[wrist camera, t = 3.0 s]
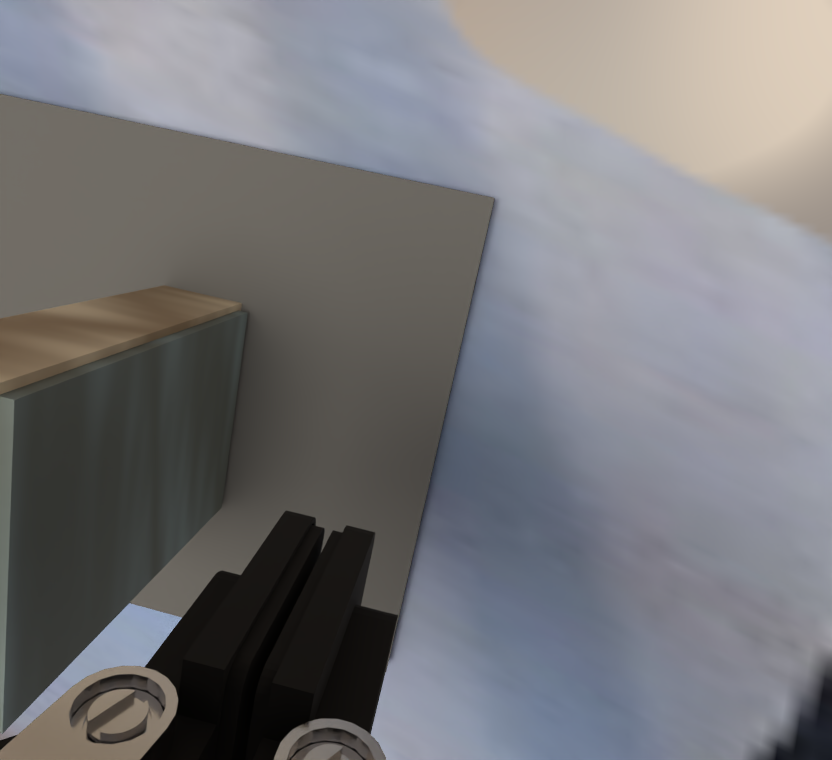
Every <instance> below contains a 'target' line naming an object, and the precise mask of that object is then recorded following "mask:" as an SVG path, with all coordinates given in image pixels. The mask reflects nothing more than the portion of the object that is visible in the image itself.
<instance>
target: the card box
mask: <svg viewBox="0 0 832 760" xmlns="http://www.w3.org/2000/svg"><path fill="white" fill-rule="evenodd" d="M241 306H242V303H239V302H235V301H230V300H226V299H222V298H217V297H213V296H209V295H204V294H200V293H196V292H191V291H187V290H183V289H178V288H174V287H169V286H165V285H163V286H159V287H154V288H149V289H144V290H139V291H134V292H129V293H124V294H119V295H114V296H109V297H104V298H99V299H94V300H89V301H84V302H79V303H74V304H69V305H64V306H59V307H54V308H49V309H44V310H39V311H34V312H29V313H25V314H20V315H15V316H10V317H5V318H0V733H2V734H3V733H4V732H5V731H6V730H7V728H8V727H9V726H10V725H11V724H12V723H13V722H14V721H15V720H16V719H17V718H18V717H19V716H20V715H21V714H22V713H23V712H24V711H25V710H26V709H27V708H28V707H29V706H30V705H31V704H32V703H33V702H34V701H35V700H36V699H37V698H38V697H39V696H40V694H41V693H42V692H43V691H44V690H45V689H46V688H47V687H48V686H49V685H50V684H51V683H52V682H53V681H54V680H55V679H56V678H57V677H58V676H59V675H60V674H61V673H62V672H63V671H64V670H65V669H66V668H67V667H68V666H69V665H70V664H71V663H72V661H73V660H74V659H75V658H76V657H77V656H78V655H79V654H80V653H81V652H82V651H83V650H84V649H85V648H86V647H87V646H88V645H89V644H90V643H91V642H92V641H93V640H94V639H95V638H96V637H97V636H98V635H99V634H100V633H101V632H102V631H103V630H104V628H105V627H106V626H107V625H108V624H109V623H110V622H111V621H112V620H113V619H114V618H115V617H116V616H117V615H118V614H119V613H120V612H121V611H122V610H123V609H124V608H125V607H126V606H127V605H128V604H129V603H130V602H131V601H132V600H133V599H134V598H135V597H136V596H137V594H138V593H139V592H140V591H141V590H142V589H143V588H144V587H145V586H146V585H147V584H148V583H149V582H150V581H151V580H152V579H153V578H154V577H155V576H156V575H157V574H158V573H159V572H160V571H161V570H162V569H163V568H164V567H165V566H166V565H167V564H168V563H169V561H170V560H171V559H172V558H173V557H174V556H175V555H176V554H177V553H178V552H179V551H180V550H181V549H182V548H183V547H184V546H185V545H186V544H187V543H188V542H189V541H190V540H191V539H192V538H193V537H194V536H195V535H196V534H197V533H198V532H199V531H200V530H201V528H202V527H203V526H204V525H205V524H206V523H207V522H208V521H209V520H210V519H211V518H212V517H213V516H214V515H215V514H216V513H217V512H218V511H219V510H220V509H221V508H222V502H223V494H224V487H225V479H226V472H227V465H228V457H229V450H230V442H231V435H232V427H233V420H234V413H235V405H236V398H237V390H238V383H239V375H240V368H241V360H242V353H243V346H244V338H245V331H246V323H247V316H248V313H247V312H243V311H241Z"/></svg>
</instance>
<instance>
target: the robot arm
mask: <svg viewBox="0 0 832 760" xmlns="http://www.w3.org/2000/svg"><path fill="white" fill-rule="evenodd" d="M324 533H325V529H324V528H322V527H318V526H316V518H315V517H312V516H307V515H303V514H299V513H295V512H291V511H285V512H284V513H283V515H282V516H281V517H280V519H279V520H278V522H277V523H276V525H275V526H274V528H273V529H272V530H271V532H270V533H269V535H268V536H267V538H266V539H265V541H264V542H263V544H262V545H261V546H260V548H259V549H258V551H257V552H256V554H255V555H254V557H253V558H252V560H251V561H250V562H249V564H248V565H247V567H246V568H245V570H244V571H243V573H242V574H241V575H238V574H234V573H230V572H226V571H223V570H222V571H219V572H217V573H216V574H215V576H214V577H213V578H212V579H211V581H210V582H209V583H208V585H207V586H206V587H205V588H204V590H203V591H202V592H201V594H200V595H199V596H198V598H197V599H196V600H195V602H194V603H193V604H192V606H191V607H190V608H189V610H188V611H187V612H186V614H185V615H184V616H183V617H182V619H181V620H180V621H179V623H178V624H177V625H176V627H175V628H174V629H173V631H172V632H171V633H170V635H169V636H168V637H167V639H166V640H165V641H164V642H163V644H162V645H161V646H160V648H159V649H158V650H157V652H156V653H155V654H154V656H153V657H152V658H151V660H150V661H149V662H148V664H147V665H146V666H145V667H141V666H119V667H114V668H109V669H104V670H102V671H99V672H97V673H94V674H92V675H89V676H87V677H86V678H84V679H83V680H81V681H80V682H78V683H77V684H75V685H74V686H73V687H71V688H70V689H69V690H68V691H67V692H66V693H65V694H63V695H62V696H61V697H60V698H59V699H58V700H57V701H56V702H54V703H53V704H52V705H51V706H50V707H49V708H48V709H46V710H45V711H44V712H43V713H42V714H41V715H40V716H39V717H37V718H36V719H35V720H34V721H33V722H32V723H31V724H29V725H28V726H27V727H26V728H25V729H24V730H23V731H22V732H20V733H19V734H18V735H16V736H12V737H9V738H6V739H3V740H0V760H386V757H385V755H384V753H383V751H382V749H381V747H380V745H379V743H378V742H377V741H376V740H375V739H374V738H373V737H372V736H371V735H370V734H371V730H372V726H373V722H374V717H375V713H376V709H377V705H378V701H379V696H380V692H381V688H382V684H383V680H384V675H385V671H386V667H387V662H388V658H389V654H390V649H391V645H392V641H393V636H394V632H395V627H396V623H397V618H398V615H395V614H391V613H387V612H383V611H380V610H376V609H372V608H368V607H364V606H361V603H362V598H363V593H364V589H365V584H366V579H367V574H368V569H369V564H370V560H371V555H372V550H373V545H374V540H375V532H372V531H368V530H364V529H360V528H356V527H352V526H348V525H346V527H345V528H344V530H343V532H339V531H335V530H333V531H332V533H331V534H330V536H329V538H328V540H327V542H326V544H325V546H324V548H323V550H322V545H323V539H324ZM321 550H322V552H321Z"/></svg>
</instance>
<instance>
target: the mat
mask: <svg viewBox="0 0 832 760" xmlns="http://www.w3.org/2000/svg"><path fill="white" fill-rule="evenodd" d="M494 199H495V198H491V197H487V196H482V195H477V194H472V193H468V192H463V191H458V190H453V189H449V188H444V187H439V186H434V185H430V184H425V183H420V182H415V181H411V180H406V179H401V178H396V177H392V176H387V175H382V174H378V173H373V172H368V171H363V170H359V169H354V168H349V167H344V166H340V165H335V164H330V163H325V162H321V161H316V160H311V159H306V158H302V157H297V156H292V155H287V154H283V153H278V152H273V151H268V150H264V149H259V148H254V147H249V146H245V145H240V144H235V143H230V142H226V141H221V140H216V139H211V138H207V137H202V136H197V135H192V134H188V133H183V132H178V131H173V130H169V129H164V128H159V127H154V126H150V125H145V124H140V123H135V122H131V121H126V120H121V119H116V118H112V117H107V116H102V115H97V114H93V113H88V112H83V111H78V110H74V109H69V108H64V107H59V106H55V105H50V104H45V103H40V102H36V101H31V100H26V99H21V98H17V97H12V96H7V95H2V94H0V318H5V317H10V316H15V315H20V314H25V313H29V312H34V311H39V310H44V309H49V308H54V307H59V306H64V305H69V304H74V303H79V302H84V301H89V300H94V299H99V298H104V297H109V296H114V295H119V294H124V293H129V292H134V291H139V290H144V289H149V288H154V287H159V286H163V285H165V286H169V287H174V288H178V289H183V290H187V291H191V292H196V293H200V294H204V295H209V296H213V297H217V298H222V299H226V300H230V301H235V302H239V303H242V306H241V311H243V312H247V313H248V316H247V323H246V331H245V338H244V346H243V353H242V360H241V368H240V375H239V383H238V390H237V398H236V405H235V413H234V420H233V427H232V435H231V442H230V450H229V457H228V465H227V472H226V479H225V487H224V494H223V502H222V508H221V509H220V510H219V511H218V512H217V513H216V514H215V515H214V516H213V517H212V518H211V519H210V520H209V521H208V522H207V523H206V524H205V525H204V526H203V527H202V528H201V530H200V531H199V532H198V533H197V534H196V535H195V536H194V537H193V538H192V539H191V540H190V541H189V542H188V543H187V544H186V545H185V546H184V547H183V548H182V549H181V550H180V551H179V552H178V553H177V554H176V555H175V556H174V557H173V558H172V559H171V560H170V561H169V563H168V564H167V565H166V566H165V567H164V568H163V569H162V570H161V571H160V572H159V573H158V574H157V575H156V576H155V577H154V578H153V579H152V580H151V581H150V582H149V583H148V584H147V585H146V586H145V587H144V588H143V589H142V590H141V591H140V592H139V593H138V594H137V596H136V597H135V598H134V599H133V600H132V601H131V602H130V603H131V604H135V605H139V606H142V607H146V608H150V609H153V610H157V611H161V612H164V613H168V614H172V615H176V616H179V617H183V616H184V615H185V614H186V612H187V611H188V610H189V608H190V607H191V606H192V604H193V603H194V602H195V600H196V599H197V598H198V596H199V595H200V594H201V592H202V591H203V590H204V588H205V587H206V586H207V585H208V583H209V582H210V581H211V579H212V578H213V577H214V576H215V574H216V573H217V572H219V571H222V570H223V571H226V572H230V573H234V574H238V575H241V574H242V573H243V571H244V570H245V568H246V567H247V565H248V564H249V562H250V561H251V560H252V558H253V557H254V555H255V554H256V552H257V551H258V549H259V548H260V546H261V545H262V544H263V542H264V541H265V539H266V538H267V536H268V535H269V533H270V532H271V530H272V529H273V528H274V526H275V525H276V523H277V522H278V520H279V519H280V517H281V516H282V515H283V513H284V512H285V511H291V512H295V513H299V514H303V515H307V516H312V517H315V518H316V526H318V527H322V528H324V529H325V533H324V539H323V545H322V550H323V548H324V546H325V544H326V542H327V540H328V538H329V536H330V534H331V533H332V531H333V530H335V531H339V532H343V530H344V528H345V527H346V525H348V526H352V527H356V528H360V529H364V530H368V531H372V532H375V540H374V545H373V550H372V555H371V560H370V564H369V569H368V574H367V579H366V584H365V589H364V593H363V598H362V603H361V606H364V607H368V608H372V609H376V610H380V611H383V612H387V613H391V614H395V615H398V618H397V623H398V619H399V614H400V610H401V605H402V601H403V597H404V592H405V588H406V584H407V579H408V575H409V570H410V566H411V562H412V557H413V553H414V549H415V544H416V540H417V536H418V531H419V527H420V522H421V518H422V514H423V509H424V505H425V501H426V496H427V492H428V488H429V483H430V479H431V474H432V470H433V466H434V461H435V457H436V453H437V448H438V444H439V439H440V435H441V431H442V426H443V422H444V418H445V413H446V409H447V405H448V400H449V396H450V391H451V387H452V383H453V378H454V374H455V370H456V365H457V361H458V356H459V352H460V348H461V343H462V339H463V335H464V330H465V326H466V322H467V317H468V313H469V308H470V304H471V300H472V295H473V291H474V287H475V282H476V278H477V273H478V269H479V265H480V260H481V256H482V252H483V247H484V243H485V239H486V234H487V230H488V225H489V221H490V217H491V212H492V208H493V204H494ZM322 550H321V552H322ZM397 623H396V627H397ZM396 627H395V632H396ZM395 632H394V636H395ZM394 636H393V640H394ZM392 645H393V641H392ZM392 645H391V649H392ZM391 649H390V653H391ZM389 658H390V654H389ZM389 658H388V662H389ZM388 662H387V666H388ZM386 670H387V667H386ZM385 672H386V671H385Z"/></svg>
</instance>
